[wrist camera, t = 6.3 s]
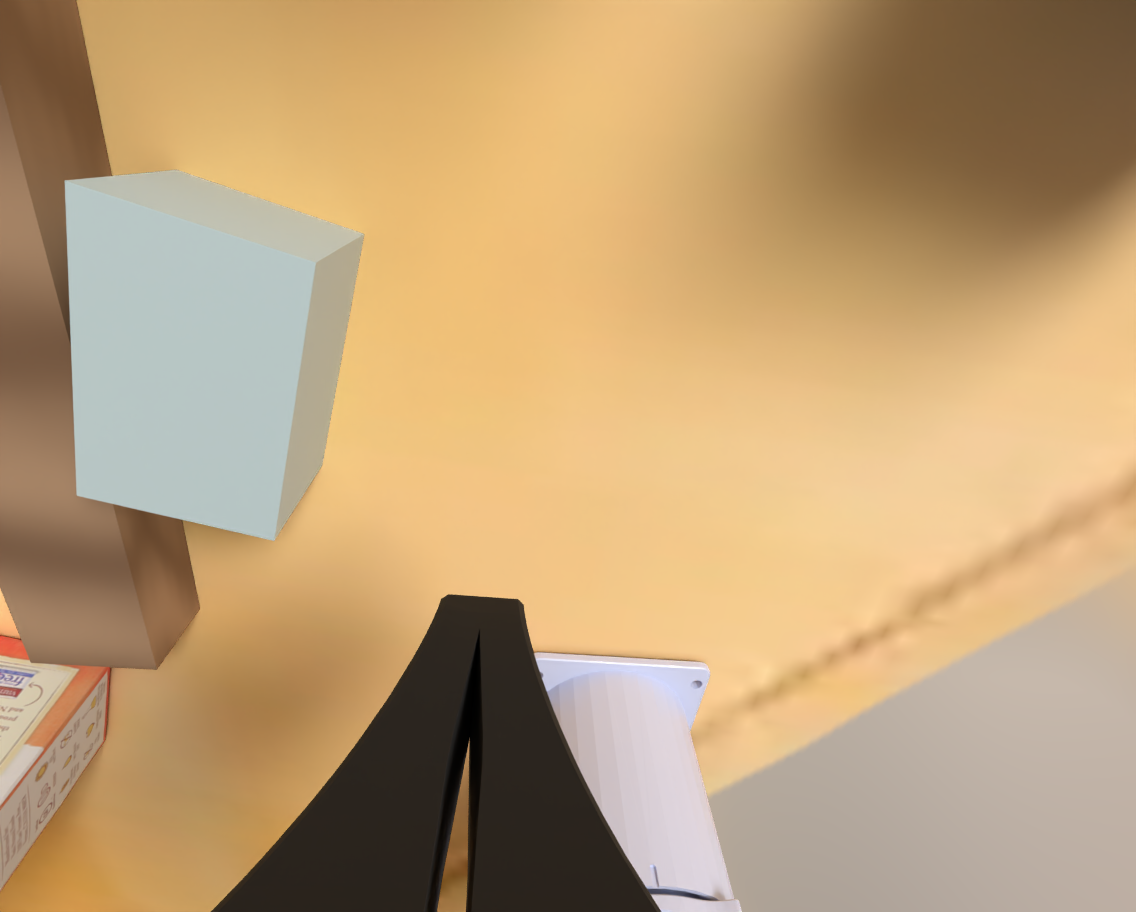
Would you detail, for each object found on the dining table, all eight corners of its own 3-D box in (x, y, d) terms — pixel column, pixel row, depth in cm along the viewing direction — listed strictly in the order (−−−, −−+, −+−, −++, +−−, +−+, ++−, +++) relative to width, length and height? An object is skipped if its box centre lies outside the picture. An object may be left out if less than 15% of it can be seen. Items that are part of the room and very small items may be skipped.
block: (323, 462, 20) (274, 541, 17) (168, 422, 19) (77, 495, 16) (366, 233, 17) (315, 262, 13) (180, 169, 16) (64, 180, 12)
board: (200, 608, 23) (156, 669, 20) (89, 601, 23) (30, 662, 20) (43, -156, 13) (-84, -233, 10) (-165, -198, 12) (-356, -288, 10)
